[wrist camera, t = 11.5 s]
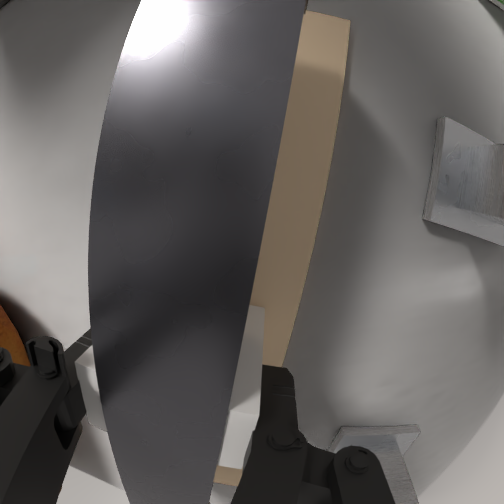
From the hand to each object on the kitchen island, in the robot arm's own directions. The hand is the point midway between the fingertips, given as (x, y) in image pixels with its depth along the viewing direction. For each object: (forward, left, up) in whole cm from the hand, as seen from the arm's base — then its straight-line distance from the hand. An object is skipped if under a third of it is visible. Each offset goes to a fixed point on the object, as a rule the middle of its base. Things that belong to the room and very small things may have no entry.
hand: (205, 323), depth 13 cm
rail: (0, 0, +3) cm, 3 cm away
